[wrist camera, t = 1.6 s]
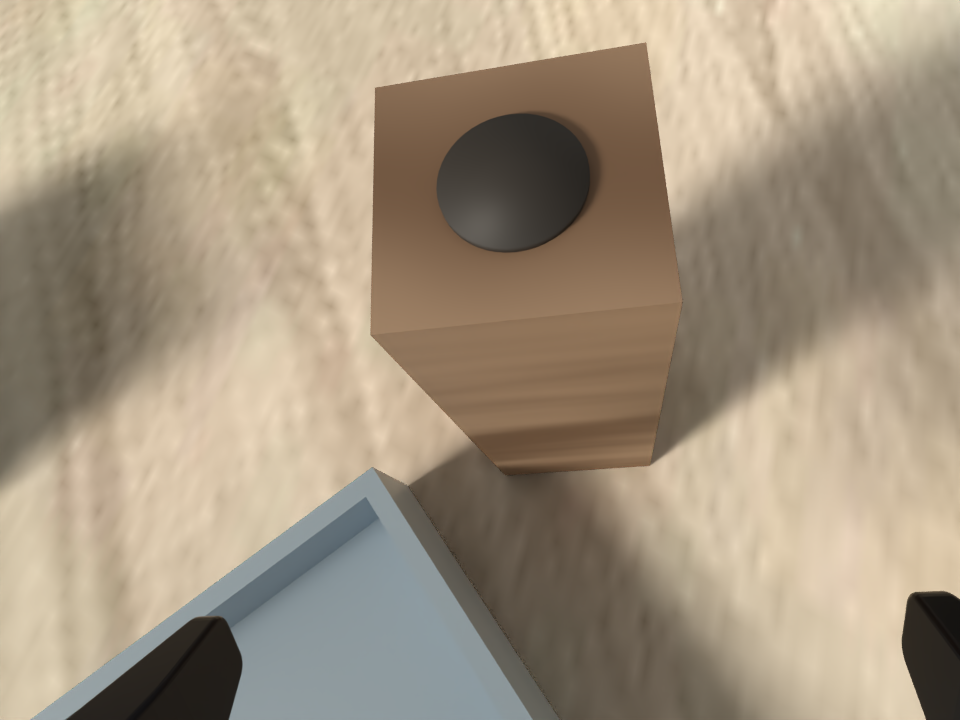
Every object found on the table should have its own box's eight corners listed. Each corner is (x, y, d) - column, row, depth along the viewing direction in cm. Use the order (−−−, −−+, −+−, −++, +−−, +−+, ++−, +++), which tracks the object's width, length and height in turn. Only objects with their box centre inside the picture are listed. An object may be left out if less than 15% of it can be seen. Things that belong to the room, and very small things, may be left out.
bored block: (650, 465, 22) (683, 298, 10) (504, 475, 23) (367, 331, 10) (634, 329, 23) (646, 35, 11) (498, 342, 24) (372, 81, 12)
